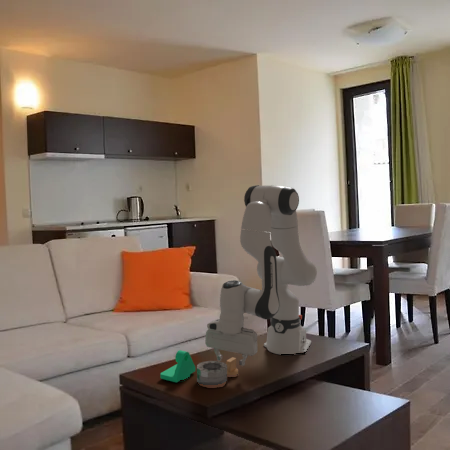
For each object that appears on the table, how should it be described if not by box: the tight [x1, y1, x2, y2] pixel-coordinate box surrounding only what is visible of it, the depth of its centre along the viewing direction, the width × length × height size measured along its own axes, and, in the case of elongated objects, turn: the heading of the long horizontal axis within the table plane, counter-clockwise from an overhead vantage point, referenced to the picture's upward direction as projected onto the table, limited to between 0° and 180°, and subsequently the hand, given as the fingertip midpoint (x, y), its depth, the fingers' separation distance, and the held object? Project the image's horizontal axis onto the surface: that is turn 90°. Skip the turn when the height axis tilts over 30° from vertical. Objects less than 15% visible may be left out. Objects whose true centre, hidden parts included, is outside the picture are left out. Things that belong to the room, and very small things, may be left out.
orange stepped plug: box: [225, 356, 239, 375], centre depth 200 cm, size 5×5×6 cm
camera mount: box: [159, 349, 196, 383], centre depth 198 cm, size 12×8×10 cm, turn 150°
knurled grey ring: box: [196, 360, 228, 385], centre depth 193 cm, size 11×11×6 cm
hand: (230, 362), depth 199 cm, fingers open, 8 cm apart
